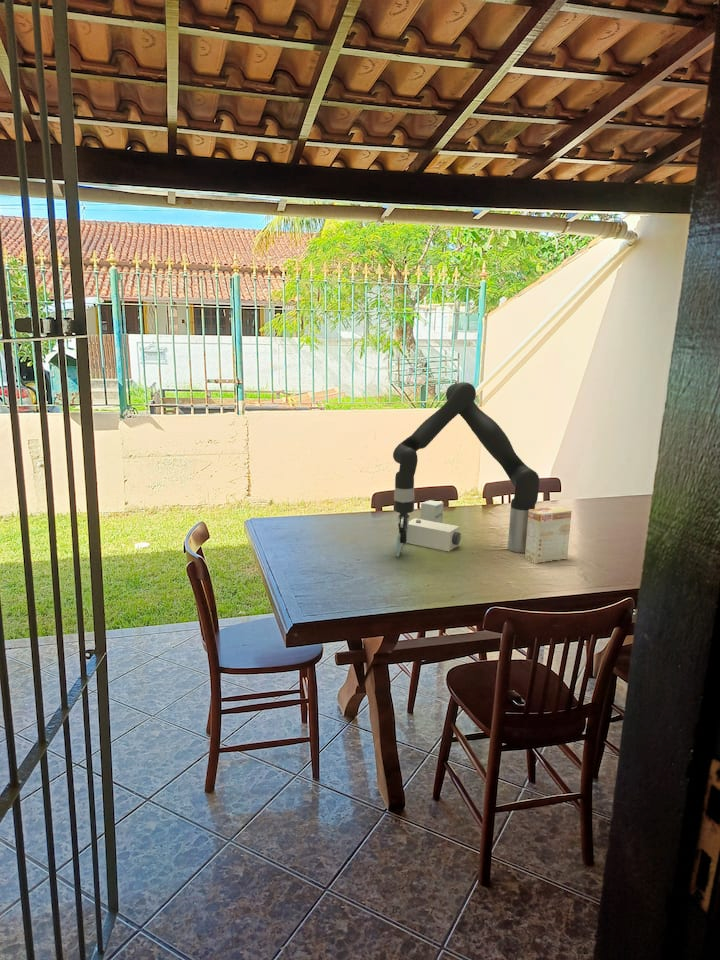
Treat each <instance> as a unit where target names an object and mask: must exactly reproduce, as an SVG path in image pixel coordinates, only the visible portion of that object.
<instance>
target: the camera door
mask: <svg viewBox="0 0 720 960" xmlns="http://www.w3.org/2000/svg"><path fill="white" fill-rule="evenodd" d="M403 544H404V543H400V534H399V533H398V534H397V538H396V557H400V555H401V551H402V547H403Z"/></svg>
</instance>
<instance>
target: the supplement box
mask: <svg viewBox="0 0 720 960" xmlns="http://www.w3.org/2000/svg"><path fill="white" fill-rule="evenodd" d="M419 519H422V520H427V521H433V522H438V523H444V522H443V521H444V502H442V501H438V500H431V499H429V500H426V501H423V502H421V503H420V518H419Z"/></svg>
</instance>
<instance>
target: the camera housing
mask: <svg viewBox="0 0 720 960" xmlns="http://www.w3.org/2000/svg"><path fill="white" fill-rule="evenodd" d="M461 535H462V533H461V532H460V526H459V525H453V524H448V523H444V522H442V523H438V522H433V521H427V520H422V519H420V518H417V517H415V518H412V519H411V520H410V519H409V526H408V530H407V541H406V543H405V544H411V545H416V546H418V547H419V546H420V547H425V548H428V549H434V550H439V551H443V552H447V551H448V553H449V552H450V550H451V551H452V550H454V549H455V548H457V547H459V545H460V542H461V539H462V536H461Z"/></svg>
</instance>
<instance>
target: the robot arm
mask: <svg viewBox="0 0 720 960" xmlns="http://www.w3.org/2000/svg"><path fill="white" fill-rule="evenodd" d="M475 388H476V387H475V386H474V385H473V384H471V383H469V382H465V381H464V382H463V381H462V382H457V383H452V384H451V385H449V387H447V389H446V392H445V398H446V401H445V403H444V404H443V405H442V406H441V407H440V408H439V409H438V410H437V411H436V412H434V413H433V414H432V415H430V416H429V417H428V418H426V419H425V420H424V421H422V423H421V424H420V425H419V426H418V427H417V428H416V430H414V432H413V433H412V434H411V435H409V436H408V437H407V438H406V439H404V440H403V441H402V442H400V443H399V444H397V446H396V447H395V448H394V450H393V452H392V453H393V454H392V458H393V460H394V461H395V463H397V464H399V469H398V471H397V472H396V473H395V479H394V485H395V486H394V493H393V501H394V502H393V511H394V512H395V513H399V515H398V516H397V521H398V523H397V525H398V526H397V527H398V534H400V543H403V544H407V543H406V541H407V530H408V526H409V521H410V519H411V518H410V513H413V512H414V511H415V474H416V470H417V465H418V454H417V452H418V451H419V450H422V449H423V450H424V449H425V448H426V447H427V446H429V444H431V442H432V441H433V440H434V439H435V438H436V437H437V435H439V433H440V432H441V431H442V430H443V429H444V428H445V427H447V425H448V424H449V423H450V422H451V421H452V420H453V419H454V418H455V417H456V416H458V415H459V416H460V417H462V419H464V421H465V423H466V424H467V426H469V428H470V429H471V431H472V432H473V434H474V435H475V436H476V438H477V439H478V440H479V442H480V443H481V444H482V446H483V447H484V448H485V449H486V451H488V453H489V454H490V456H491V457H492V458H493V459H495V461H496V462H497V463H498V464H499V465H500V466H501V468H502V469H503V470H504V472H505V473H506V476H507V477H508V479H509V480H510V482H511V484H512V485H513V486H514V495H513V496H514V497H513V498H512V499H511V501H510V512H509V527H508V538H507V550H509V551H511V552H515V553H520V552H521V553H524V554H525V550H526V538H527V524H528V511H529V510H530V509H536V504H537V502H538V497H539V490H540V476H539V474H538V473H537V471H535V470H533V469H532V468H531V467H529V466H527V465H526V463H525V462H523V461H522V459H521V458H520V457H519V456H518V454H517V453H516V452H515V450H514V448H513V445H512V443H511V441H510V439H509V437H508V436H507V434H506V432H504V430H503V429H502V428H501V426H500V425H499V424H498V423H497V422H496V421H495V420H494V419H493V418H491V417H490V416H489V415H487V414H486V413H485V412H483V411H482V410H481V408H480V407H479V406H478V404H476V402H475V399H476V397H477V391H476V389H475Z"/></svg>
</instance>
